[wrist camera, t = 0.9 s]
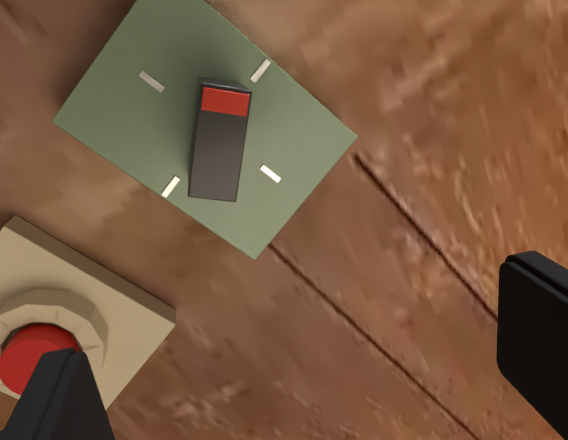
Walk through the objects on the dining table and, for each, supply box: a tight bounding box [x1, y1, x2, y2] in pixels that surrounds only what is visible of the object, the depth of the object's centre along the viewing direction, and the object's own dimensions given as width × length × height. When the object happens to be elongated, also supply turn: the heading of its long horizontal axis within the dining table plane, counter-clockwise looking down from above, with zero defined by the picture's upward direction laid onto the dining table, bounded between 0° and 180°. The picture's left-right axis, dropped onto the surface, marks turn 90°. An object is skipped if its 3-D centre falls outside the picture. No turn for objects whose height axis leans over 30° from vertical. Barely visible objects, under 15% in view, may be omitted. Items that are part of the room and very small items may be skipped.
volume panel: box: [51, 0, 358, 260], centre depth 28 cm, size 14×10×3 cm
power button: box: [0, 324, 79, 395], centre depth 28 cm, size 4×4×2 cm
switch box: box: [0, 216, 176, 410], centre depth 30 cm, size 12×10×4 cm
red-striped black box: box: [188, 77, 252, 202], centre depth 25 cm, size 6×2×5 cm, turn 170°
